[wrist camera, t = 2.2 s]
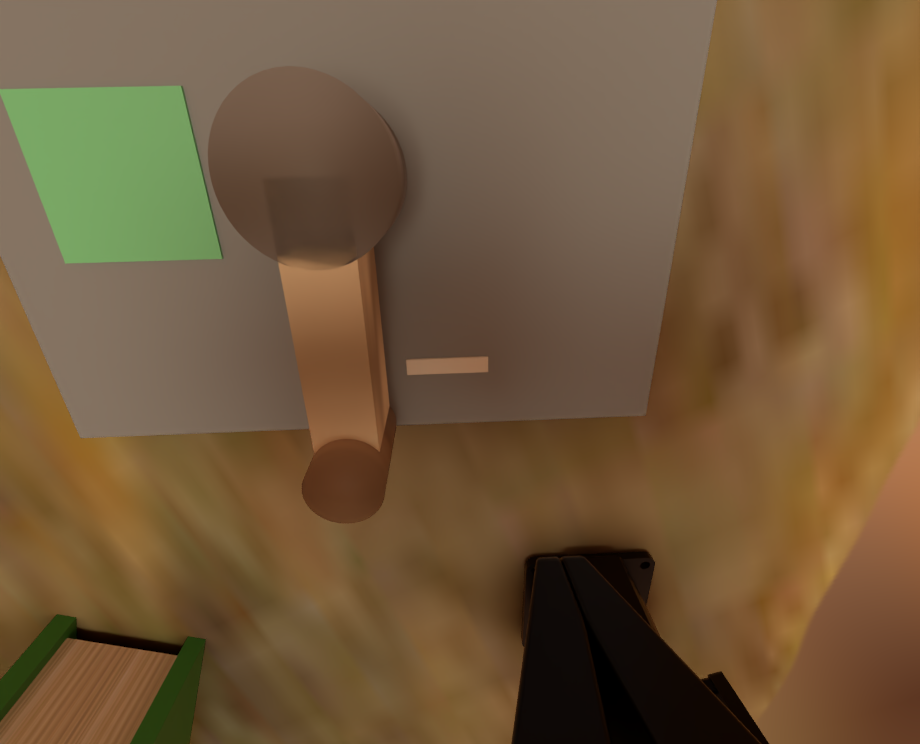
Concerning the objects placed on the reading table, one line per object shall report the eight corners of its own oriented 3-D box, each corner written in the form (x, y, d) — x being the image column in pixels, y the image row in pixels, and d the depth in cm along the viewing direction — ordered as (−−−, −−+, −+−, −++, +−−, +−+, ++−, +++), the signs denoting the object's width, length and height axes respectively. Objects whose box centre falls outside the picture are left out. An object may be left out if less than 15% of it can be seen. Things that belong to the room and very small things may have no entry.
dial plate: (631, 397, 19) (646, 416, 18) (106, 418, 19) (78, 439, 17) (724, -212, 12) (764, -266, 10) (-146, -210, 11) (-234, -268, 10)
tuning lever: (241, 90, 12) (157, 57, 9) (401, 87, 12) (384, 53, 9) (310, 451, 17) (275, 526, 14) (424, 446, 17) (420, 520, 14)
